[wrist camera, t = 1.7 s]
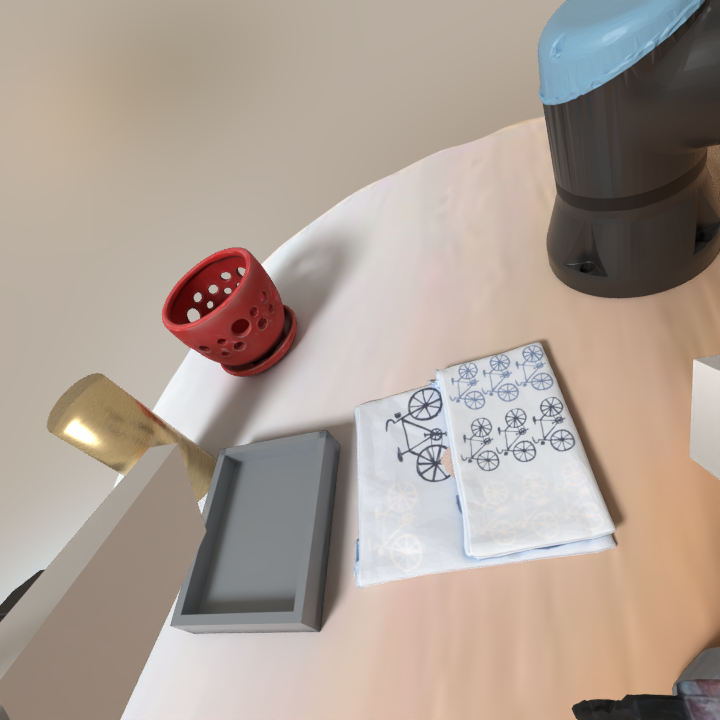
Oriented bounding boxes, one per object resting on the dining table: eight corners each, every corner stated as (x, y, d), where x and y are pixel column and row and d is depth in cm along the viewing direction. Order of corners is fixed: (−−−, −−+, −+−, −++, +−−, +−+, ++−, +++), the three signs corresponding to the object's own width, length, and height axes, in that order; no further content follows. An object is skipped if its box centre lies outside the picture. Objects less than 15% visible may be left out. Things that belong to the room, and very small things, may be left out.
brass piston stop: (179, 458, 57) (68, 381, 46) (223, 450, 55) (117, 367, 44) (161, 510, 53) (35, 439, 42) (208, 504, 51) (86, 427, 40)
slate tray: (237, 462, 53) (220, 449, 51) (340, 444, 48) (326, 429, 46) (193, 633, 42) (170, 625, 40) (319, 631, 38) (301, 623, 35)
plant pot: (260, 305, 70) (209, 242, 62) (323, 319, 62) (273, 249, 54) (203, 374, 66) (139, 316, 57) (262, 400, 57) (197, 336, 49)
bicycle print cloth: (622, 551, 33) (621, 540, 31) (355, 592, 39) (343, 585, 37) (546, 348, 46) (543, 334, 44) (353, 403, 52) (344, 392, 50)
